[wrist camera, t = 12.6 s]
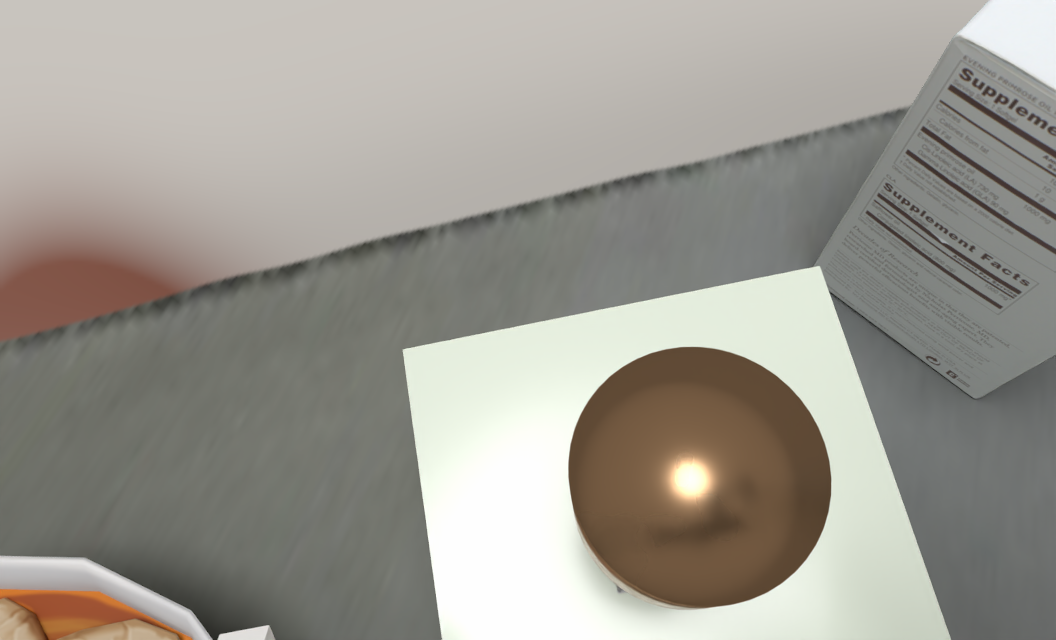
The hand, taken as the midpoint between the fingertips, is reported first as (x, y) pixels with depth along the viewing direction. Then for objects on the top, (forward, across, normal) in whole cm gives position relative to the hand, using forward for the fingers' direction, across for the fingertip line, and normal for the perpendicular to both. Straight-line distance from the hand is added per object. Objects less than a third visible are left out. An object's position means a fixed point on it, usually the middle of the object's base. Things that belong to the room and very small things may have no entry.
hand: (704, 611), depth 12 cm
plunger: (+15, 0, -12) cm, 19 cm away
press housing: (+17, 0, -14) cm, 22 cm away
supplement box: (+24, +17, -7) cm, 31 cm away
